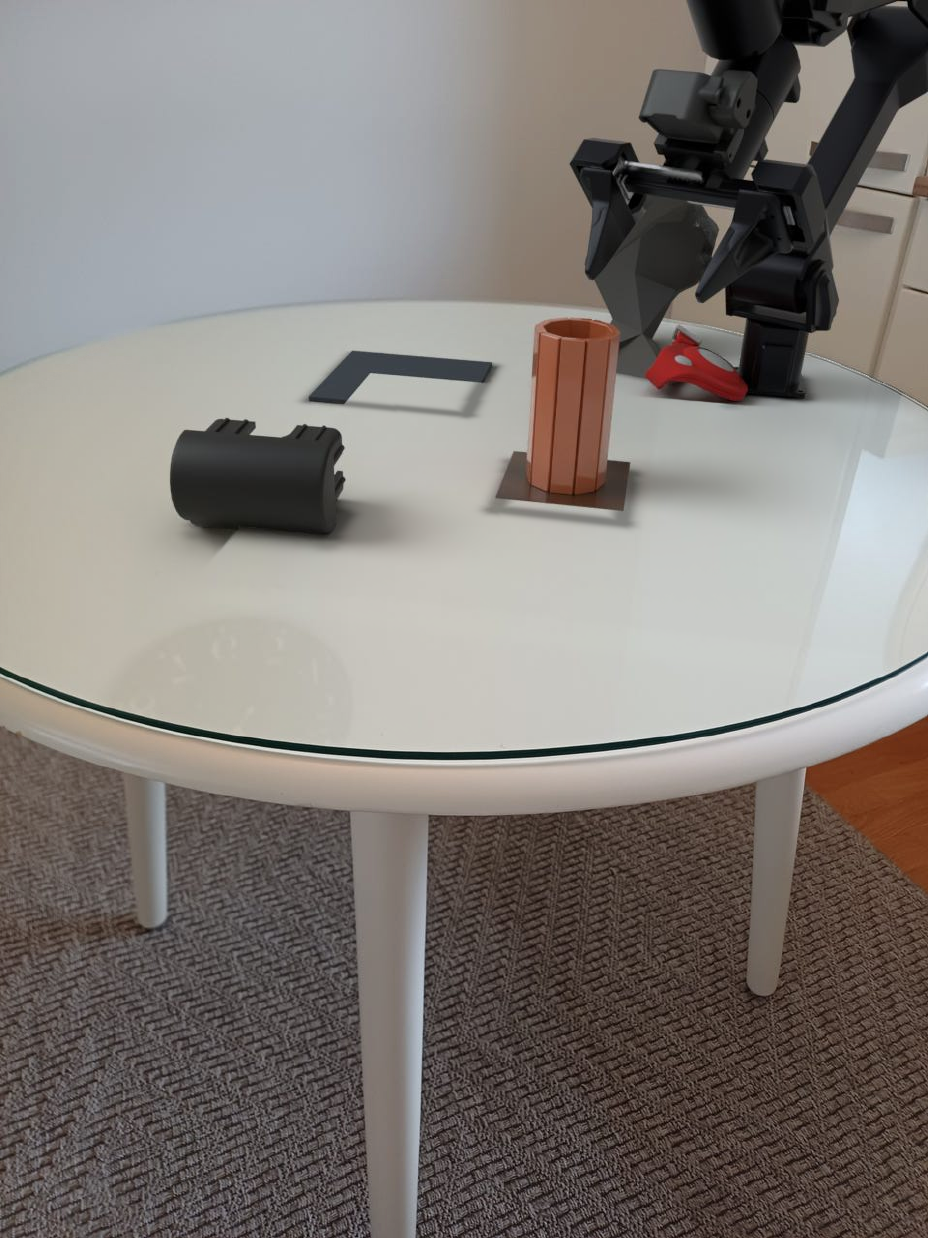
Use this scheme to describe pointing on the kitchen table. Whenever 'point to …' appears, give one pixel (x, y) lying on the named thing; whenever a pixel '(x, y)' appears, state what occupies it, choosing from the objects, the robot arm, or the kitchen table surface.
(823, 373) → the kitchen table surface
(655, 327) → the grey angular chunk
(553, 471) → the orange tube
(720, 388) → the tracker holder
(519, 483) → the ring holder
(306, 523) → the end cap
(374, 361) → the flat corner bracket
